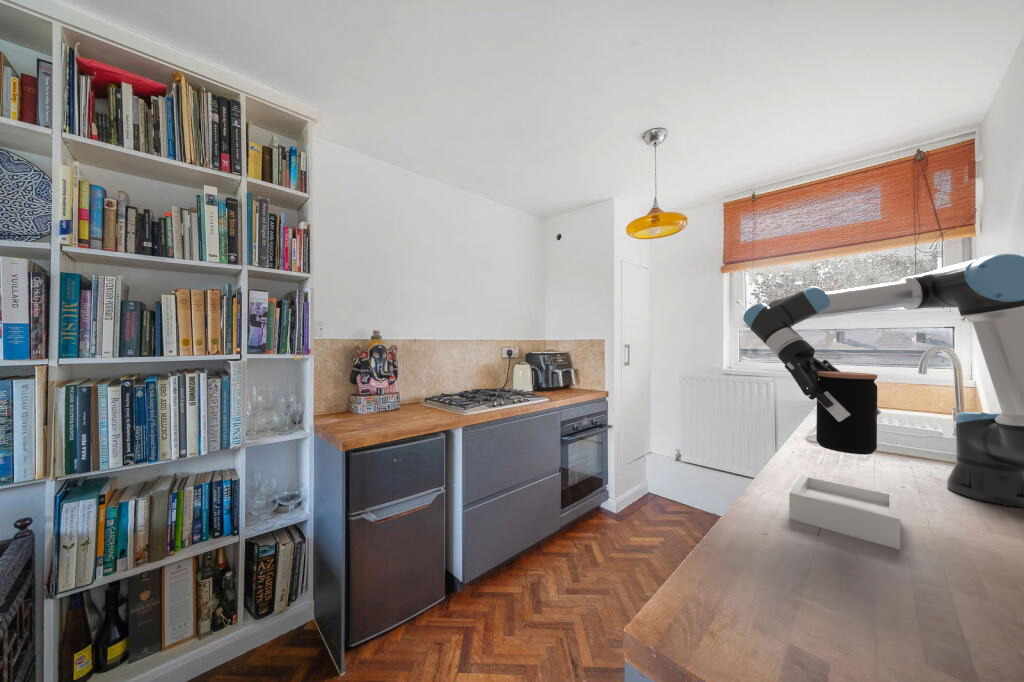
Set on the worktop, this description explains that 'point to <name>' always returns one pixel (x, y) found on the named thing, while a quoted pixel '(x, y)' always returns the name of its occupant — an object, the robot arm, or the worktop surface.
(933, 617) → the worktop surface
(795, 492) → the white square tray
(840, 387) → the coffee jar
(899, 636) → the worktop surface
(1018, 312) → the robot arm
